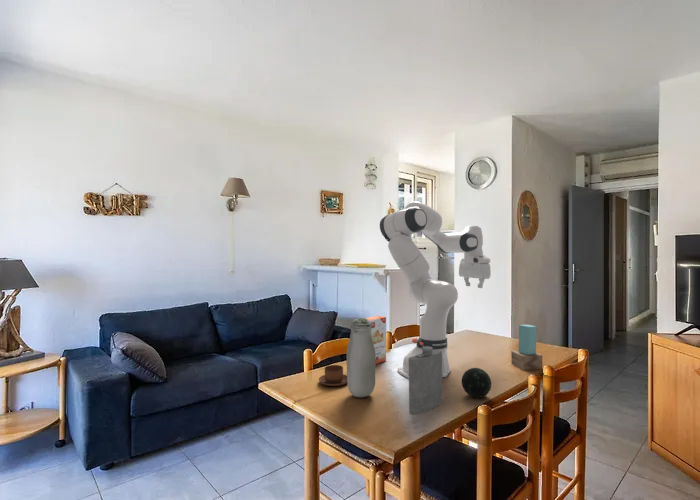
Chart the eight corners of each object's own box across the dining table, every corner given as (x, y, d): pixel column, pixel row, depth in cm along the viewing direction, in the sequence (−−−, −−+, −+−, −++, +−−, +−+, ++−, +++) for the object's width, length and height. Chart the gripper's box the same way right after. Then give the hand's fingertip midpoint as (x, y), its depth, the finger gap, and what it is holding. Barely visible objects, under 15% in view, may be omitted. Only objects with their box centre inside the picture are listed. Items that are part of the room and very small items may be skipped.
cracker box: (367, 367, 172) (366, 320, 172) (357, 365, 177) (356, 319, 176) (387, 360, 182) (386, 316, 182) (377, 358, 187) (376, 315, 186)
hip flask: (436, 398, 137) (435, 341, 136) (446, 402, 134) (445, 344, 133) (407, 412, 126) (406, 350, 126) (417, 415, 123) (416, 352, 123)
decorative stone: (467, 389, 145) (466, 362, 145) (494, 395, 139) (494, 367, 139) (457, 398, 137) (457, 369, 137) (486, 404, 131) (486, 374, 131)
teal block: (528, 354, 167) (529, 327, 168) (518, 352, 172) (519, 325, 172) (535, 353, 170) (536, 326, 170) (525, 351, 174) (526, 324, 174)
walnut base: (523, 370, 166) (522, 356, 166) (511, 364, 175) (511, 350, 175) (542, 369, 168) (542, 355, 168) (530, 363, 176) (529, 349, 176)
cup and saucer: (313, 383, 155) (312, 367, 155) (336, 376, 163) (336, 361, 162) (331, 391, 146) (330, 374, 146) (355, 383, 153) (355, 368, 153)
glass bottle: (359, 403, 133) (358, 322, 133) (342, 394, 141) (341, 318, 141) (381, 396, 139) (380, 318, 139) (363, 388, 147) (362, 314, 147)
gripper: (455, 258, 199) (455, 285, 200) (481, 259, 180) (482, 289, 180) (465, 258, 202) (466, 284, 202) (492, 259, 182) (493, 288, 182)
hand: (473, 287), depth 191 cm, fingers open, 8 cm apart
